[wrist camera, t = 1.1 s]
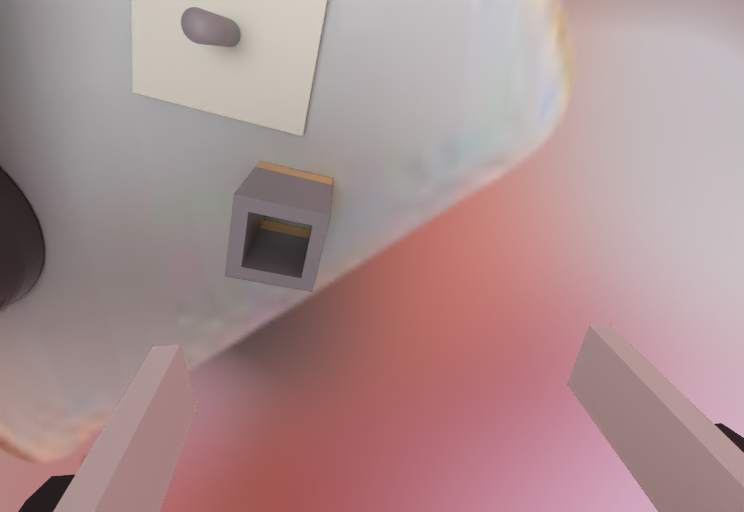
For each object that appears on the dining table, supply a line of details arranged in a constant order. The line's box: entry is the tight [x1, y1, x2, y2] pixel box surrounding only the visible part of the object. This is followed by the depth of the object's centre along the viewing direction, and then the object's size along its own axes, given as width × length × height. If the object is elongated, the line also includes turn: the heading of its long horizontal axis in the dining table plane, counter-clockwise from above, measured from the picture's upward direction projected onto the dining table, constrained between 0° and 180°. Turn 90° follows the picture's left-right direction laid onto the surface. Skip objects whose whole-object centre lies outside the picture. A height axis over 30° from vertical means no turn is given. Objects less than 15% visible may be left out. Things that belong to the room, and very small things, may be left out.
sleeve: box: [225, 161, 333, 292], centre depth 24 cm, size 5×5×7 cm
